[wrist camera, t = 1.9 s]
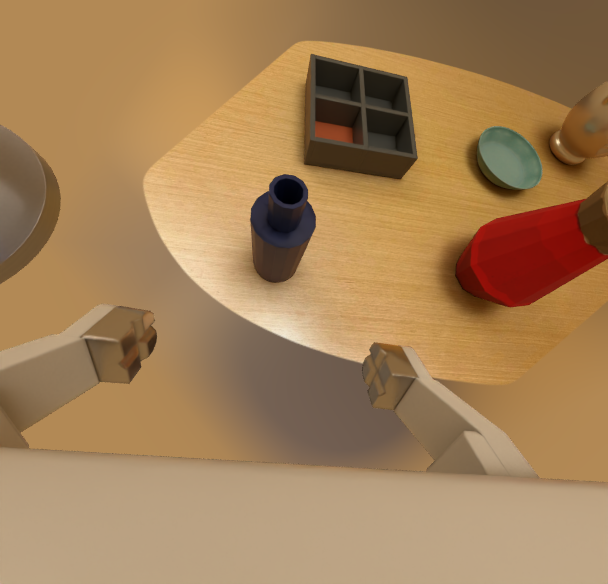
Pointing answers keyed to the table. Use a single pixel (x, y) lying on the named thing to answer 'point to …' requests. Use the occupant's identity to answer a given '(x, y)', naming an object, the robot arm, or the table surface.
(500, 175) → the saucer
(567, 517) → the robot arm
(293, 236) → the navy bottle
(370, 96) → the tray
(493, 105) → the table surface
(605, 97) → the teapot
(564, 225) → the bottle
